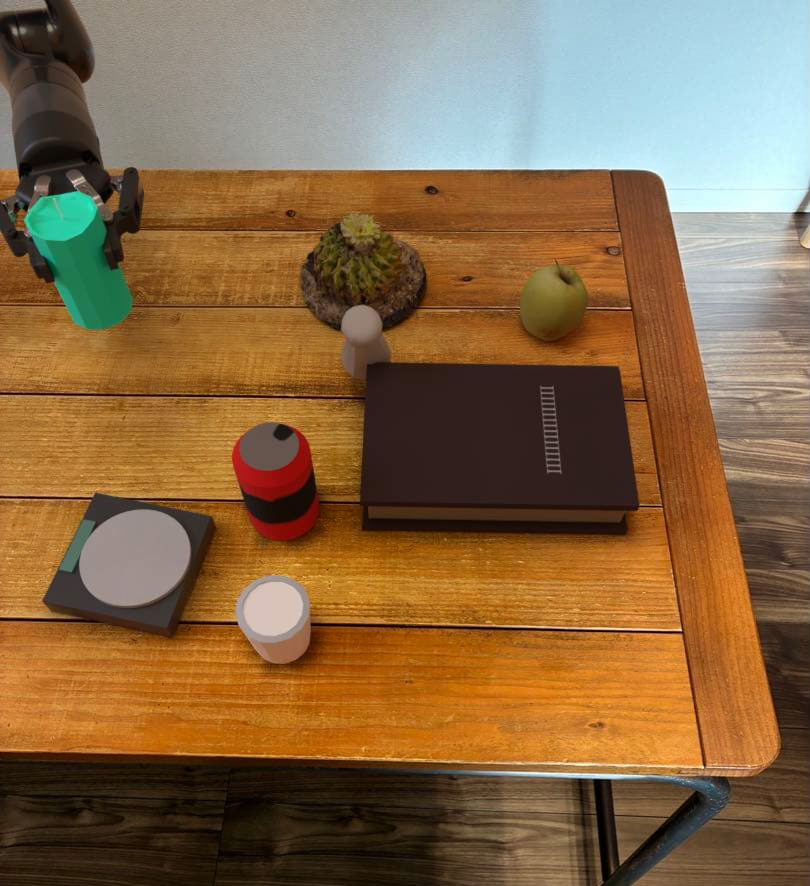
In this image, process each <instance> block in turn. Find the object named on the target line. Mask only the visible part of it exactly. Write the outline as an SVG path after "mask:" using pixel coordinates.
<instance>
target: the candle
mask: <svg viewBox="0 0 810 886" xmlns="http://www.w3.org/2000/svg"><path fill="white" fill-rule="evenodd" d="M23 222H24V224H25V226H27V228H28V230H29V232H30V234H31V236H32V238H33V240H34V242H35V244H36V246H37V248H38V250H39V252H40V254H41V255H42V256H44V257H45V258H46V261H47V263H48V265H49V267H50V269H51V271H52V273H53V275H54V278H55V282H54V285H55V288H56V289H57V291H58V293H59V295H60V297H61V299H62V301H63V304H64V305H65V307H66V309H67V312H68V314H69V316H70V317H71V319H72V322H73V323H74V324H76V325H77V326H79V327H81V328H83V329H86V330H102V331H103V330H106V329H107V330H108V329H109V328H112V327H114V326H117V325H120V324H121V323H122V322H123V321H124V320H125V318H127V317H128V316H129V315H130V314H131V313H132V308H133V305H134V299H133V296H132V294H131V291H130V288H129V285H128V283H127V280H126V277H125V275H124V273H123V270H122V268H121V265H120V262H119V263H118V266H119V269H115V270H110V267H109V265H108V262H107V260H106V257H105V255H104V251H103V247H102V245H103V244H104V240H105V236H106V232H107V231H106V228H105V226H104V223H103V221H102V218H101V216H100V213H99V210H98V208H97V206H96V204H95V203H94V201H93V199H92V197H91V196H88V195H86V194H83V193H80V192H78V191H76V192H71V193H66V194H61V195H54V196H47V197H41V198H40V199H39V200H38V201H37V203H36V204H35V205H34V206H33V207H32V208H31V210H30V211H29V213H26V216H25V218H24V219H23Z"/></svg>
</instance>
